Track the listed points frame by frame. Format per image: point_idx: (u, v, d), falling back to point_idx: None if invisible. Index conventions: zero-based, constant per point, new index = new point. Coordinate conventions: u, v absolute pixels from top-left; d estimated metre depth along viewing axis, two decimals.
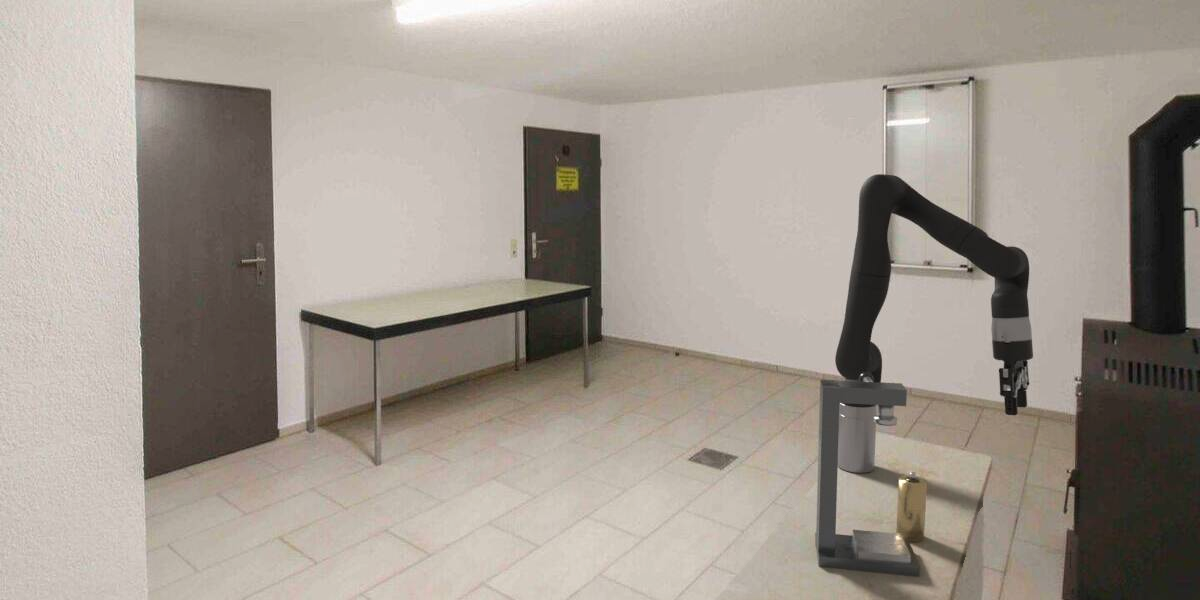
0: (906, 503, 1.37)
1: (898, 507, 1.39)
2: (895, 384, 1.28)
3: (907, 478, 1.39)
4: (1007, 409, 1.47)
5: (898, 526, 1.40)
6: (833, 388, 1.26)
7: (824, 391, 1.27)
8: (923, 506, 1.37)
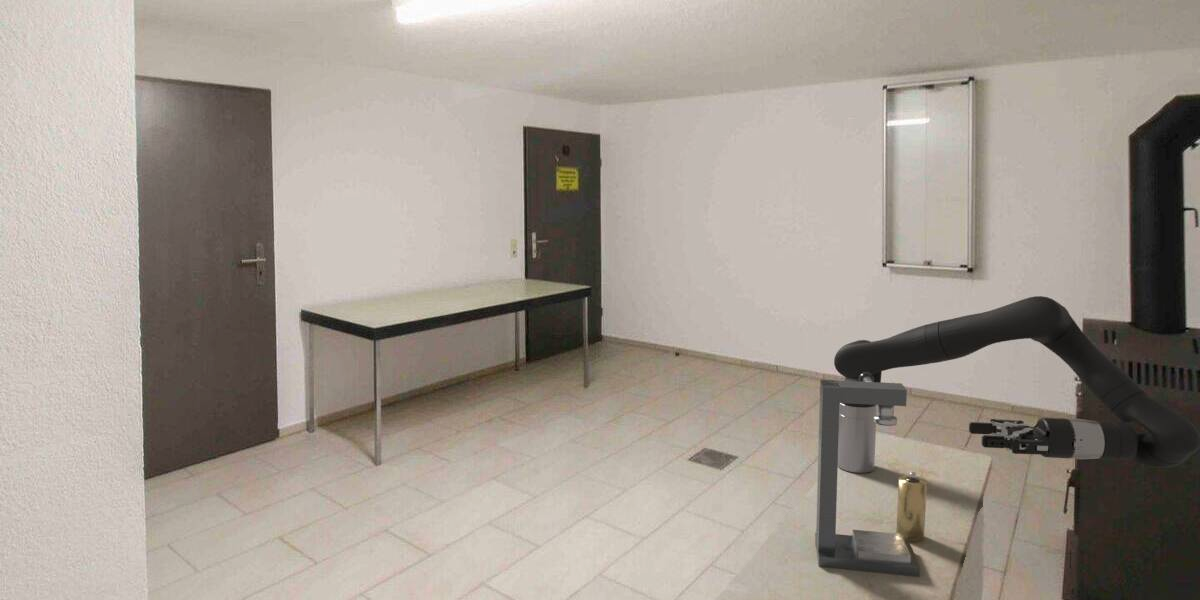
0: (906, 503, 1.37)
1: (898, 507, 1.39)
2: (895, 384, 1.28)
3: (907, 478, 1.39)
4: (991, 440, 1.29)
5: (898, 526, 1.40)
6: (833, 388, 1.26)
7: (824, 391, 1.27)
8: (923, 506, 1.37)
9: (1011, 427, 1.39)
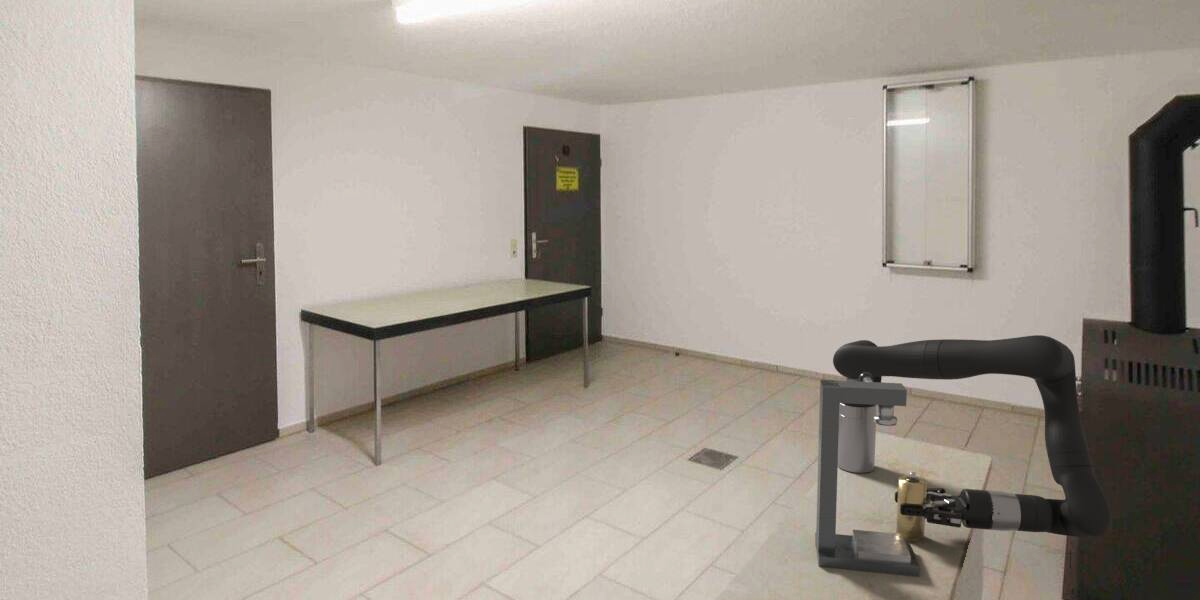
0: None
1: (898, 507, 1.39)
2: (895, 384, 1.28)
3: (907, 478, 1.39)
4: (908, 509, 1.36)
5: (898, 526, 1.40)
6: (833, 388, 1.26)
7: (824, 391, 1.27)
8: None
9: None
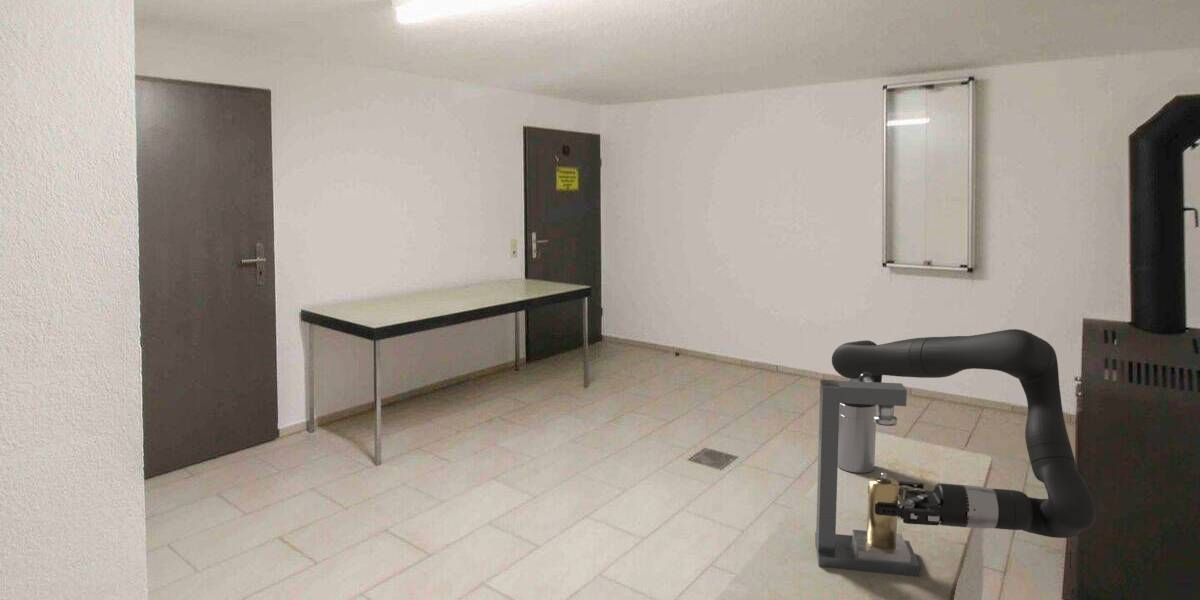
0: None
1: (868, 510, 1.30)
2: (895, 384, 1.28)
3: (878, 479, 1.30)
4: (883, 508, 1.25)
5: (868, 531, 1.30)
6: (833, 388, 1.26)
7: (824, 391, 1.27)
8: None
9: None
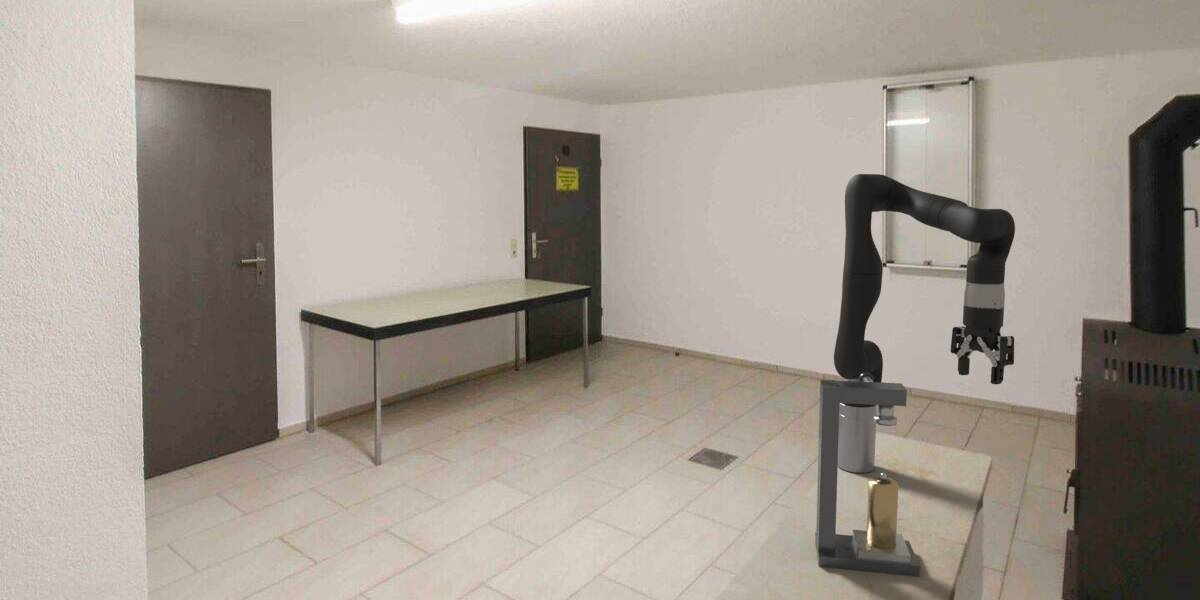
0: (876, 507, 1.28)
1: (868, 510, 1.30)
2: (895, 384, 1.28)
3: (878, 479, 1.29)
4: (998, 378, 1.41)
5: (868, 531, 1.30)
6: (833, 388, 1.26)
7: (824, 391, 1.27)
8: (894, 509, 1.27)
9: (959, 336, 1.51)
